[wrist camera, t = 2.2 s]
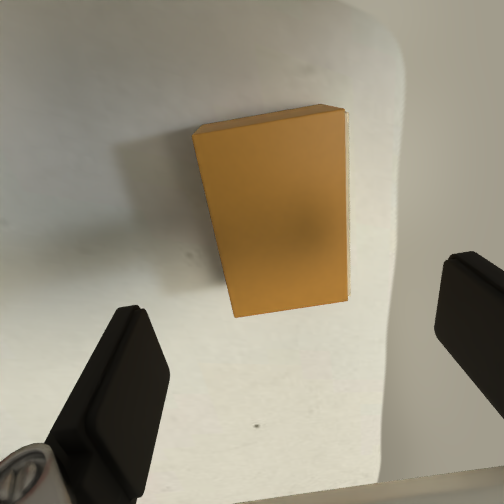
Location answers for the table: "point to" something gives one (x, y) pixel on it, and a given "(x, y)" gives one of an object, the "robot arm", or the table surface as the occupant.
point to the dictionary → (280, 206)
